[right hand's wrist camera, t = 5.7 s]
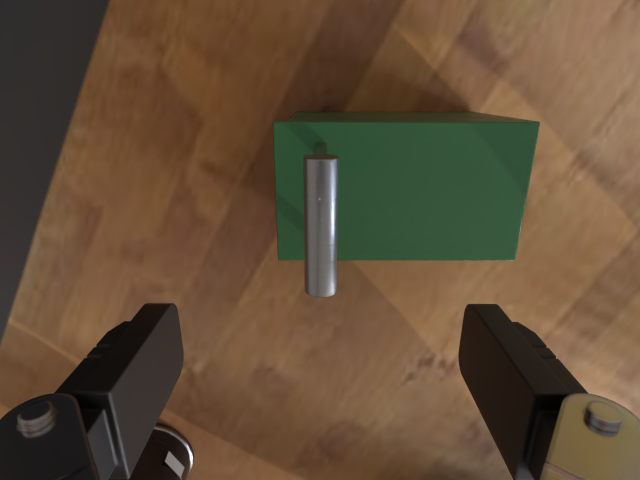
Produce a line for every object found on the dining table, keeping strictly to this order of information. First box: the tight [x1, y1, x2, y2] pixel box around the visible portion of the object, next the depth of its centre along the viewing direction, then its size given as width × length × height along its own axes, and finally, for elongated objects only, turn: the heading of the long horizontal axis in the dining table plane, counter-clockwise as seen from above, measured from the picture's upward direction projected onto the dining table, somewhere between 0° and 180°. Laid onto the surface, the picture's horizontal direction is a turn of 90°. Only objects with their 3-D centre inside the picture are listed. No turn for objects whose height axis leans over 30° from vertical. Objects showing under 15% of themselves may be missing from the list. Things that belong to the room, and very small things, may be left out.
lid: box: [273, 120, 540, 297], centre depth 23 cm, size 16×9×8 cm, turn 90°
